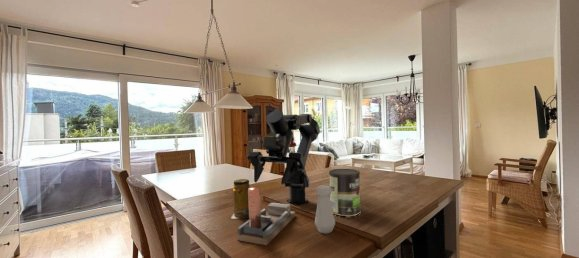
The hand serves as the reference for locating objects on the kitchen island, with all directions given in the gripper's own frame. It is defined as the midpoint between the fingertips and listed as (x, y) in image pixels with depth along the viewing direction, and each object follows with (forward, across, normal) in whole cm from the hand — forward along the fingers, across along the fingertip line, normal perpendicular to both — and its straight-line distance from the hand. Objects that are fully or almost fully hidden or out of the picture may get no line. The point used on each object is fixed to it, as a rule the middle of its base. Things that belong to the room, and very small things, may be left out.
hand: (268, 182), depth 77 cm
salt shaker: (+8, +17, +12) cm, 22 cm away
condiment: (+6, -13, +14) cm, 20 cm away
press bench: (+10, 0, +10) cm, 13 cm away
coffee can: (-4, +20, +23) cm, 30 cm away
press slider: (+13, 0, +3) cm, 14 cm away
